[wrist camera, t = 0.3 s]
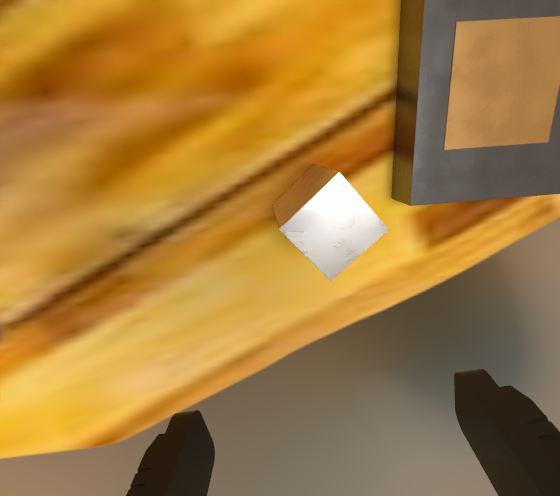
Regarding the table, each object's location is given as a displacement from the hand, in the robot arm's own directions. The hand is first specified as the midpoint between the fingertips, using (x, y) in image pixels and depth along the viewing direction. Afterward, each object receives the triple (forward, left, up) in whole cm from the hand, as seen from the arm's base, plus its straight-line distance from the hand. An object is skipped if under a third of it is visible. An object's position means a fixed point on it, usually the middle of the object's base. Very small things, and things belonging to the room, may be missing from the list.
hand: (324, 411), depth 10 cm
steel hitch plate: (-11, +20, -23) cm, 32 cm away
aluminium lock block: (-2, +4, -23) cm, 23 cm away
